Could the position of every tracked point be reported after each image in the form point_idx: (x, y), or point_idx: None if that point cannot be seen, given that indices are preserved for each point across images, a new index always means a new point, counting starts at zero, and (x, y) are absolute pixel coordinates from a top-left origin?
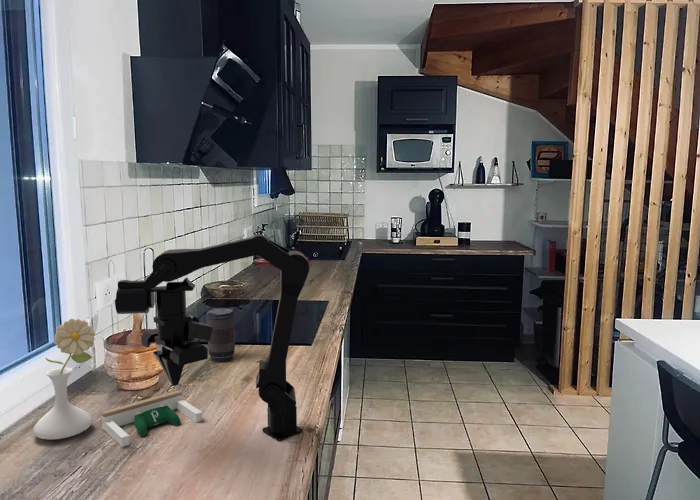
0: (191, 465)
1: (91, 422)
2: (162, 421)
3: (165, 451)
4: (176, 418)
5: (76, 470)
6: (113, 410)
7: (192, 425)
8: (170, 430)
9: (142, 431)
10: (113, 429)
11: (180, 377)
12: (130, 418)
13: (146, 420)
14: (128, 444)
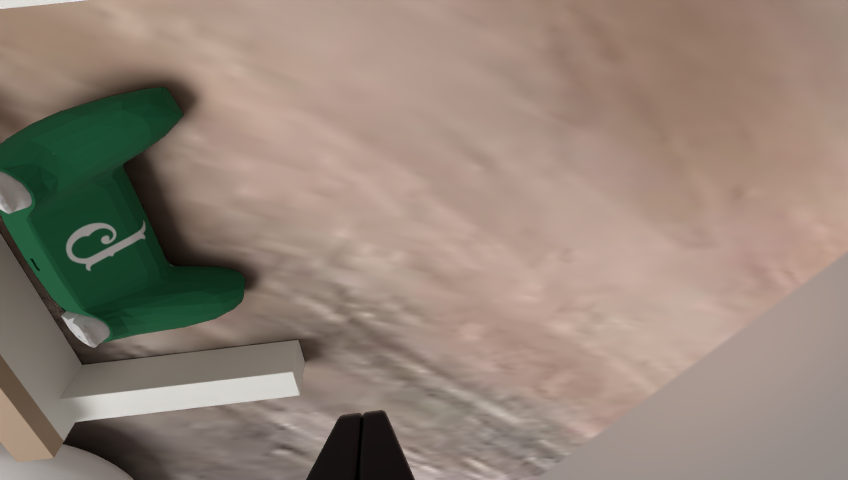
0: (663, 195)
1: None
2: (132, 187)
3: (459, 245)
4: (157, 123)
5: None
6: (16, 425)
7: (230, 26)
8: (237, 161)
9: (237, 302)
10: (187, 406)
11: (411, 477)
12: (24, 310)
13: (145, 284)
14: (299, 344)
